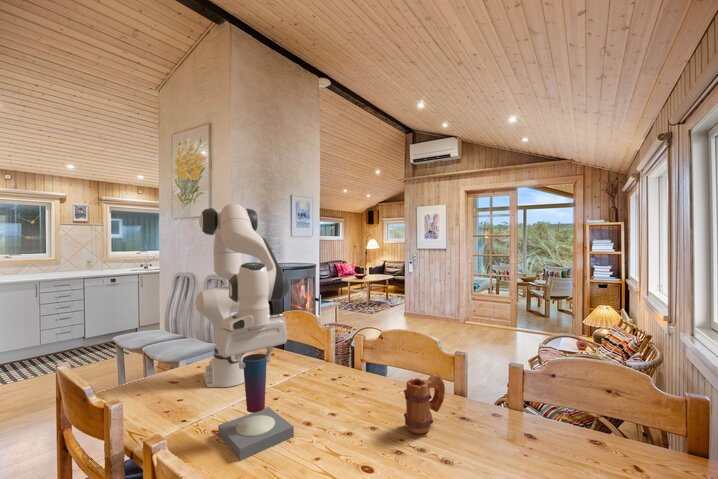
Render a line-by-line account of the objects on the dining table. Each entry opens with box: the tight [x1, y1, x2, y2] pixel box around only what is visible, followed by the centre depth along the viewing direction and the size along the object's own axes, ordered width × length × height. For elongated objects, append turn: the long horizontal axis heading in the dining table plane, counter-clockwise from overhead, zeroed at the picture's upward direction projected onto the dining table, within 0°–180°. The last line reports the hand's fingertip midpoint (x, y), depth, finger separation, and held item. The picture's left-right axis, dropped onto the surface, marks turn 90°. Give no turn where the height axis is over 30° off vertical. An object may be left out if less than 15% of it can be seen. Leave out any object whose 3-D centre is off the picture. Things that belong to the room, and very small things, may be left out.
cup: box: [243, 353, 268, 414], centre depth 100 cm, size 7×7×15 cm
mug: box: [403, 373, 446, 434], centre depth 104 cm, size 15×8×15 cm, turn 117°
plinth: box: [217, 407, 295, 461], centre depth 100 cm, size 16×16×3 cm
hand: (254, 365), depth 100 cm, fingers closed on cup, 6 cm apart
